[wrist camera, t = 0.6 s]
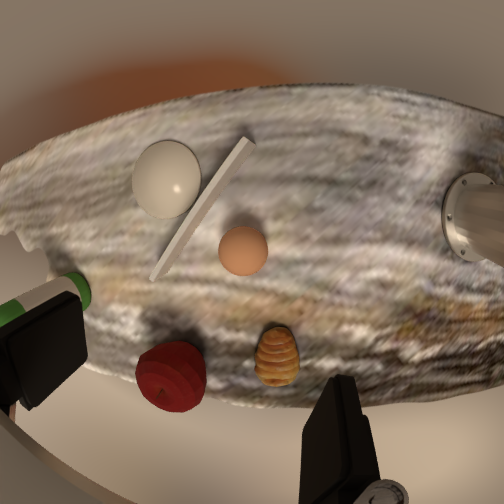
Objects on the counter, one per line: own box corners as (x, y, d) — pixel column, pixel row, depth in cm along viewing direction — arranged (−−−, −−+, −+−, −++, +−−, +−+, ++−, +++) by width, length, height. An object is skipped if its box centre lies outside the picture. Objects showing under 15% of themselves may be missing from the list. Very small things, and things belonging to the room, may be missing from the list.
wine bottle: (62, 273, 45) (-56, 332, 17) (84, 267, 43) (-50, 334, 15) (75, 309, 47) (-33, 381, 18) (98, 306, 45) (-23, 390, 16)
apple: (227, 377, 43) (205, 427, 31) (175, 380, 45) (146, 422, 34) (203, 322, 41) (170, 365, 29) (149, 330, 43) (111, 367, 32)
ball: (269, 221, 35) (261, 229, 29) (272, 267, 36) (265, 282, 31) (224, 224, 36) (208, 232, 31) (228, 268, 38) (214, 283, 32)
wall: (251, 142, 33) (243, 136, 29) (256, 145, 33) (248, 139, 29) (164, 268, 40) (148, 278, 35) (167, 272, 40) (152, 282, 35)
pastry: (255, 323, 39) (250, 336, 36) (301, 324, 38) (301, 338, 34) (257, 372, 41) (252, 387, 38) (299, 375, 40) (297, 390, 36)
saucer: (198, 134, 34) (196, 134, 33) (205, 214, 36) (203, 215, 36) (131, 150, 36) (129, 149, 36) (138, 221, 39) (136, 222, 38)
